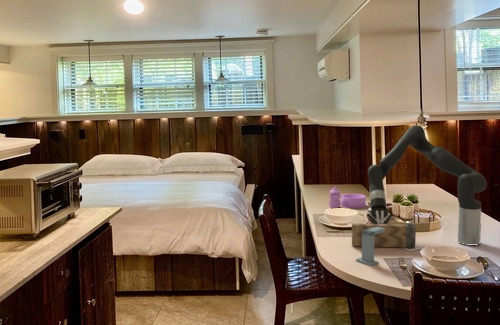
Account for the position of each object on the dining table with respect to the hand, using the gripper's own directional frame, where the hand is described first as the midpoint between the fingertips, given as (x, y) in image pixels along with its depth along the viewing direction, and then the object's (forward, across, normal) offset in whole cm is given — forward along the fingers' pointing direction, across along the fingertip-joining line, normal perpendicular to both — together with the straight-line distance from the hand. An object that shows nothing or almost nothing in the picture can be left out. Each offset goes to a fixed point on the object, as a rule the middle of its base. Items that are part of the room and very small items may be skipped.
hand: (381, 231), depth 212 cm
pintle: (+8, -12, 0) cm, 15 cm away
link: (+8, 0, +1) cm, 8 cm away
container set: (-49, +12, -58) cm, 77 cm away
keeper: (+21, +7, +14) cm, 26 cm away
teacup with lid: (-17, -2, -25) cm, 30 cm away
